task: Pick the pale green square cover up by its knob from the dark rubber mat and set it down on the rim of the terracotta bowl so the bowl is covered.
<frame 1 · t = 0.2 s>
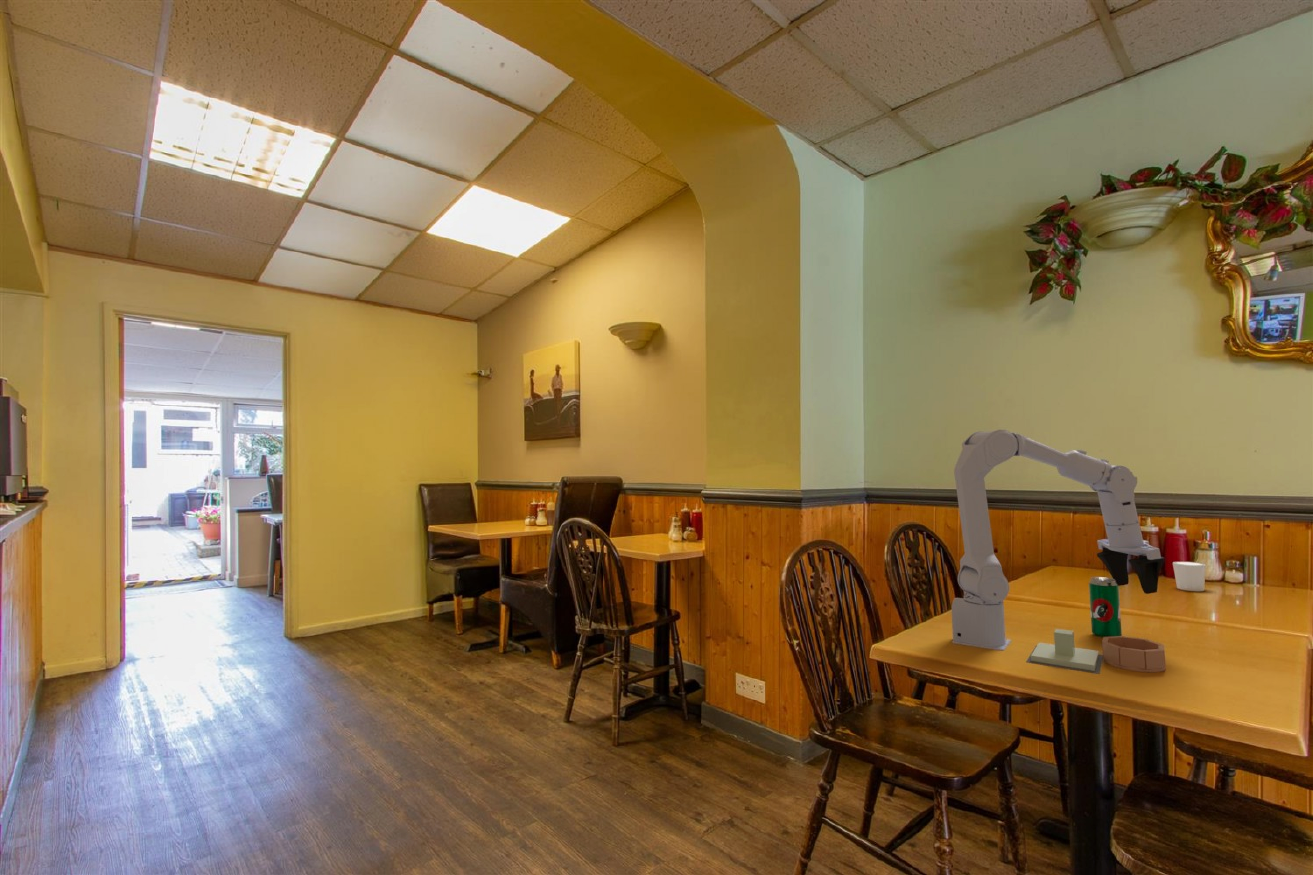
hand: (1136, 588, 124), 11 cm above the table, tool pointing down, fingers open, 7 cm apart
mat: (1065, 660, 113), on the table
soda can: (1106, 637, 127), on the table
bowl: (1134, 665, 110), on the table
white cup: (1190, 589, 166), on the table
cover: (1065, 658, 113), resting on mat
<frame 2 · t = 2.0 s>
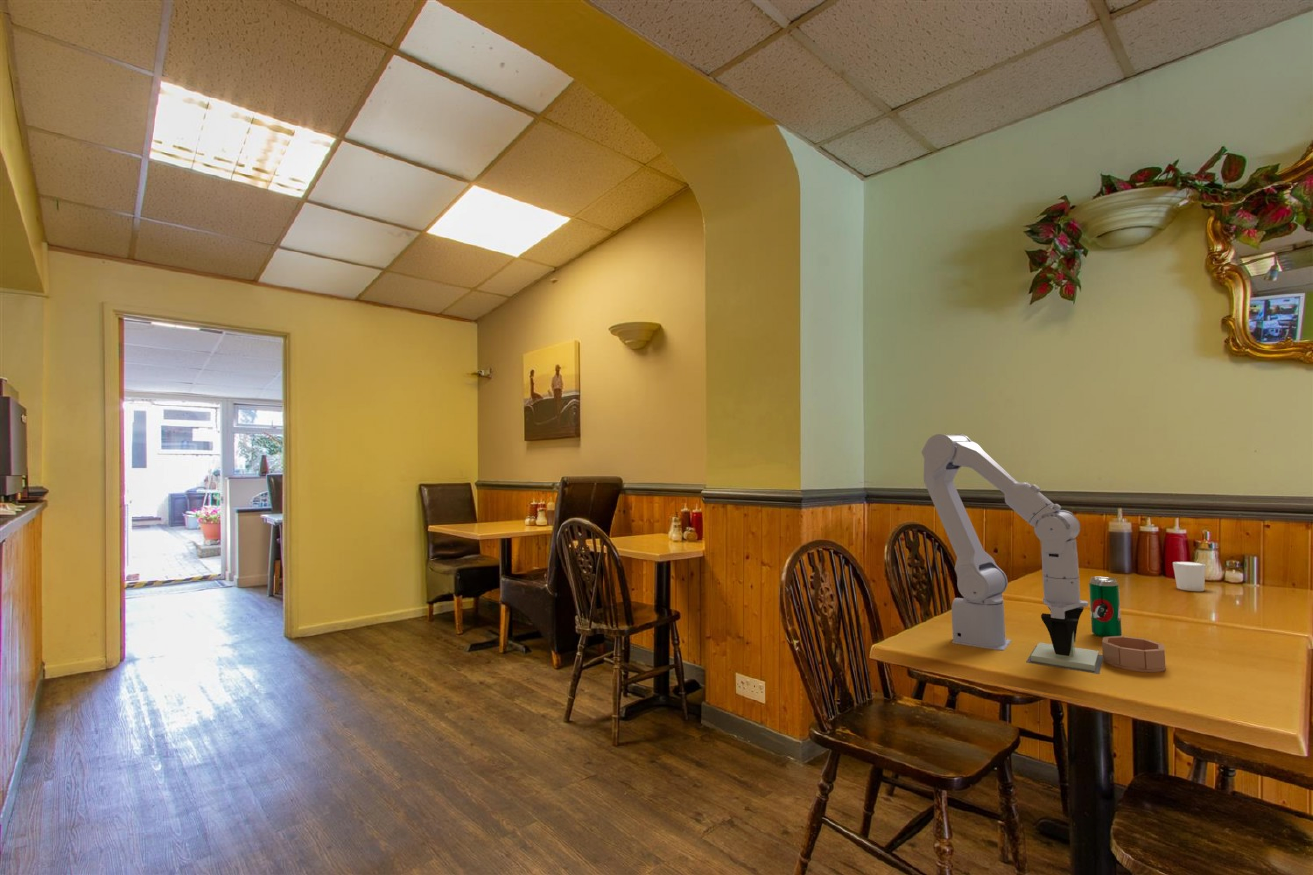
hand: (1065, 649, 113), 2 cm above the table, tool pointing down, fingers open, 7 cm apart
nothing on the table moved.
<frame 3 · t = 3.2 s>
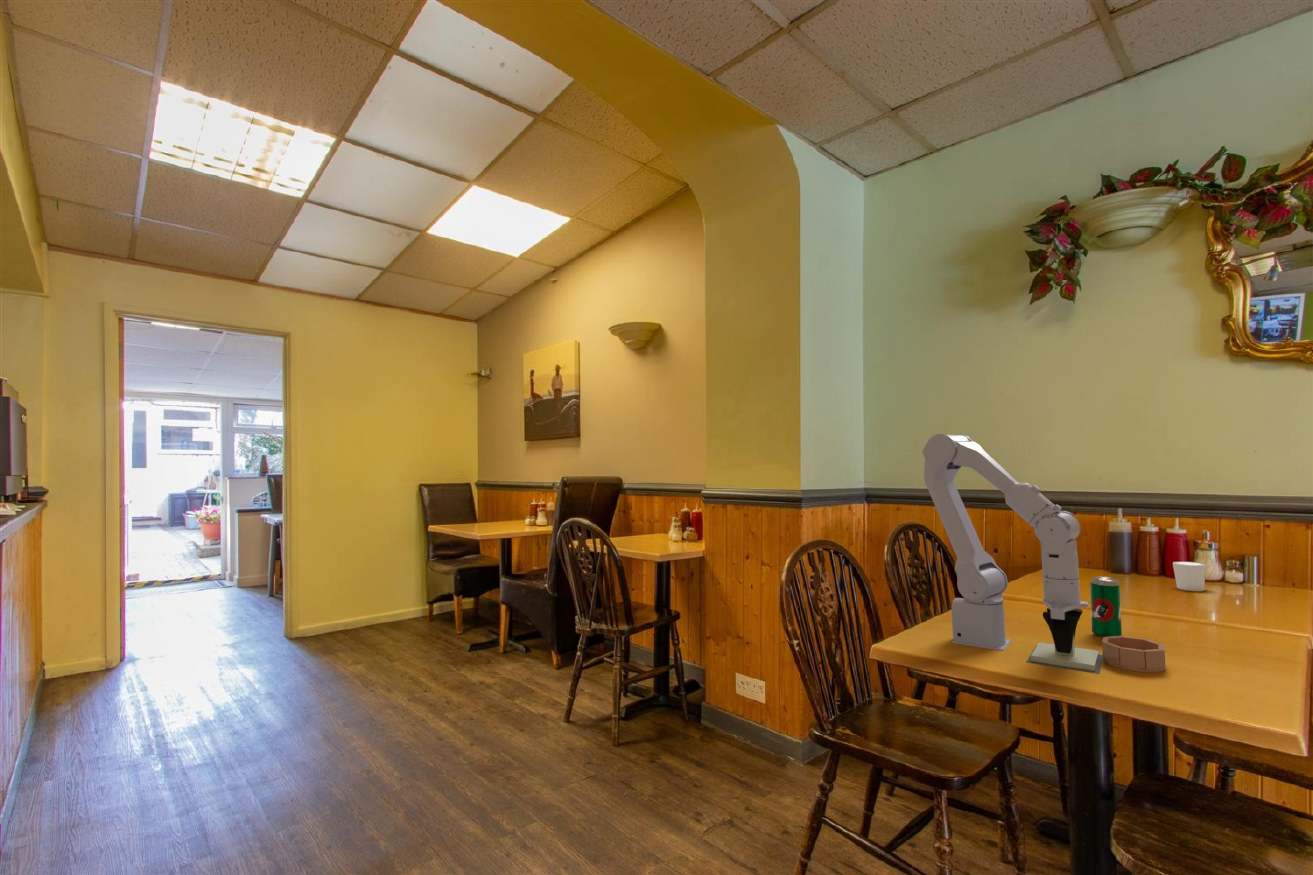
hand: (1064, 649, 113), 2 cm above the table, tool pointing down, fingers closed on cover, 3 cm apart
cover: (1065, 658, 113), resting on mat, touching gripper
everything else where it was.
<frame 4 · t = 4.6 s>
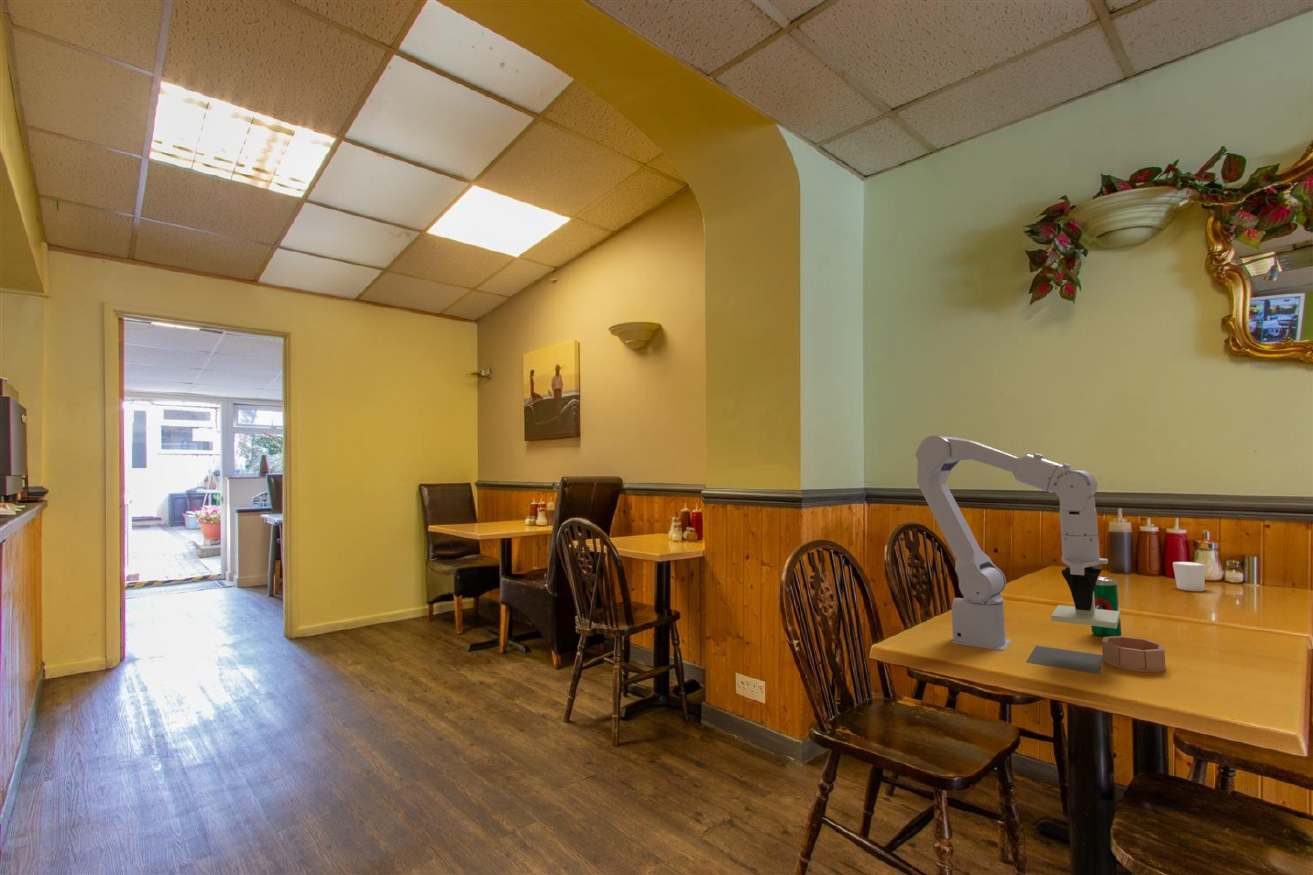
hand: (1084, 607, 112), 10 cm above the table, tool pointing down, fingers closed on cover, 3 cm apart
cover: (1085, 618, 112), point 8 cm above the table, touching gripper
everything else where it was.
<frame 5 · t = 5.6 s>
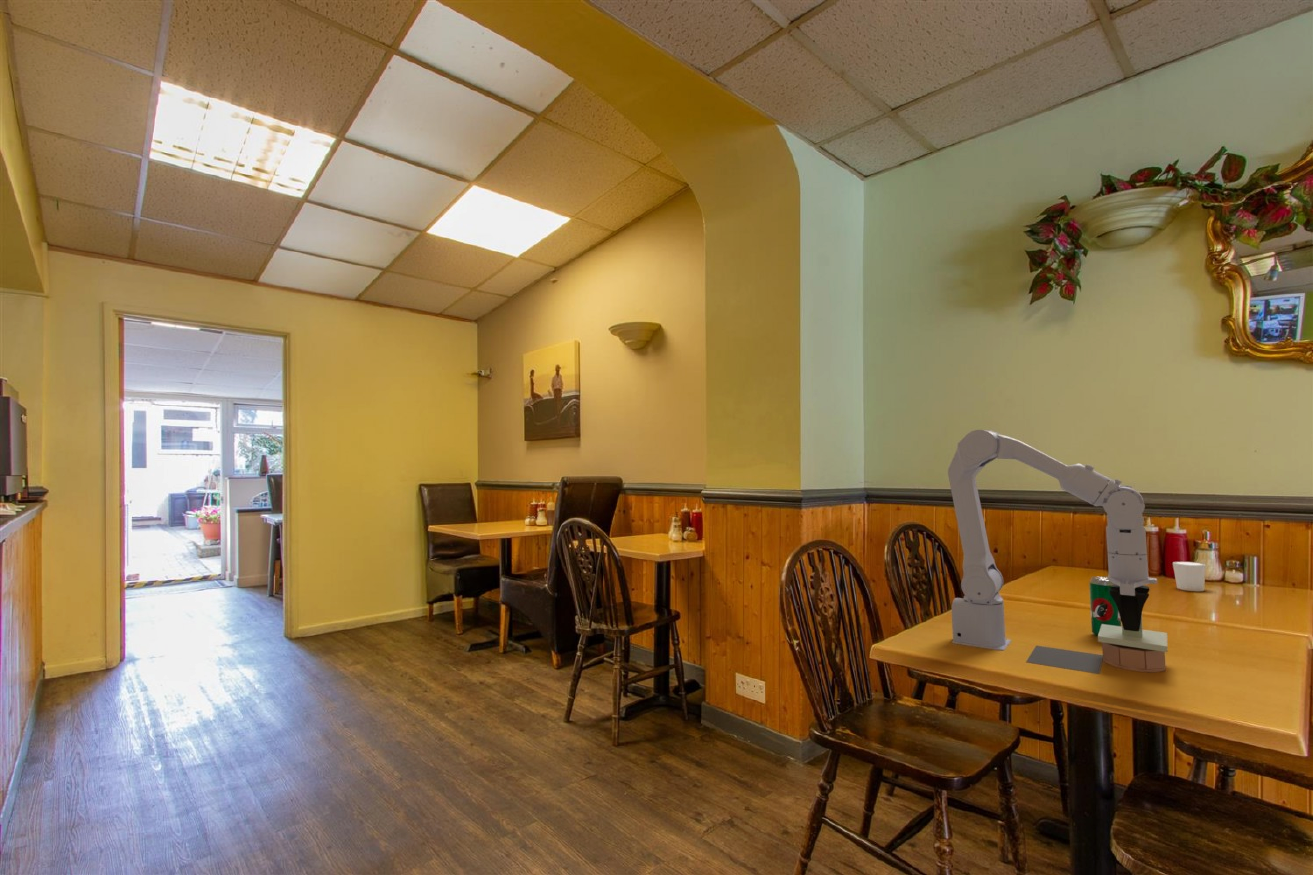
hand: (1131, 628, 110), 7 cm above the table, tool pointing down, fingers closed on cover, 3 cm apart
cover: (1132, 639, 110), point 5 cm above the table, touching gripper
everything else where it was.
when the fingers open (6 cm above the table, at t = 6.3 s): cover stays where it is, resting on bowl.
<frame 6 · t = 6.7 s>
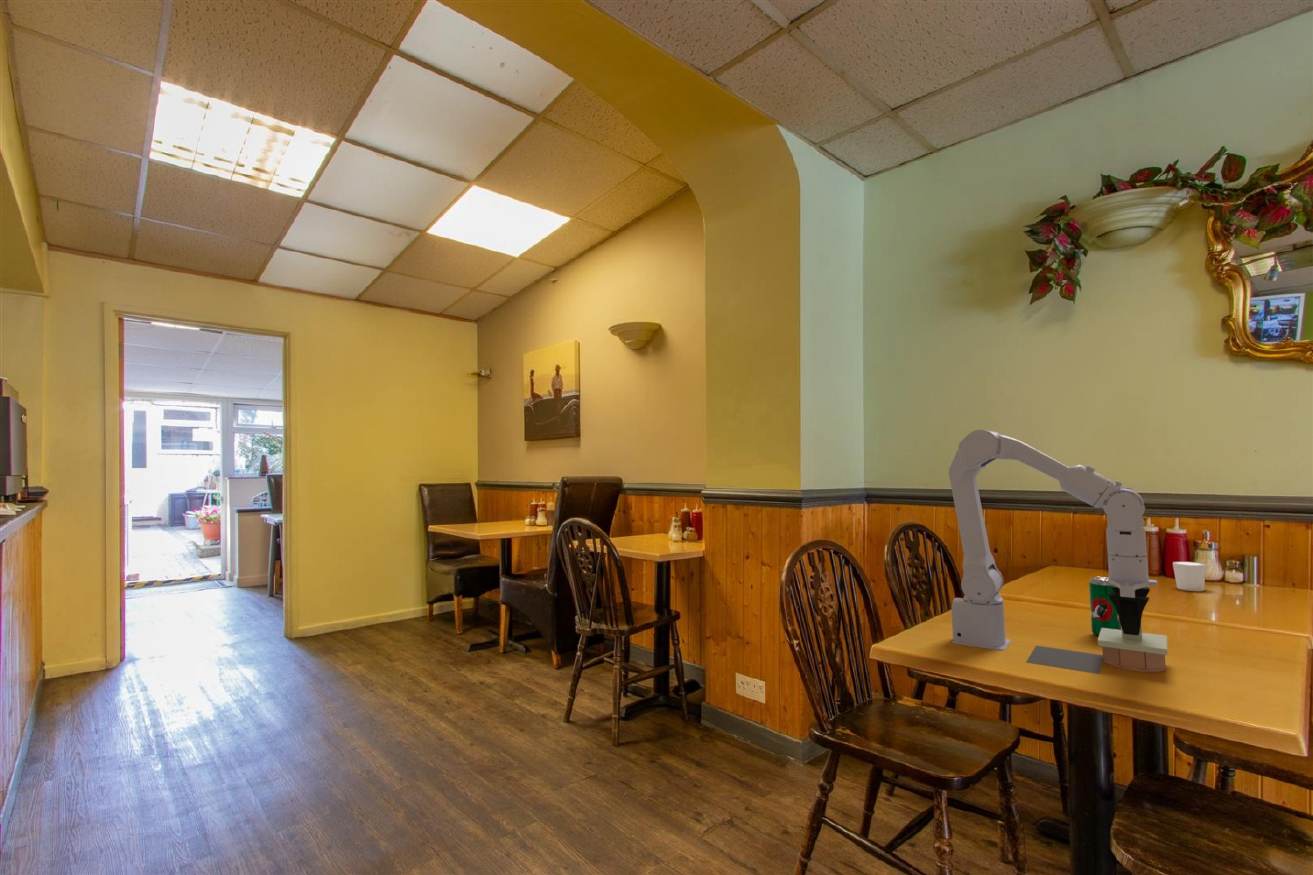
hand: (1131, 629, 110), 6 cm above the table, tool pointing down, fingers open, 6 cm apart
cover: (1132, 643, 110), point 4 cm above the table, touching bowl
everything else where it was.
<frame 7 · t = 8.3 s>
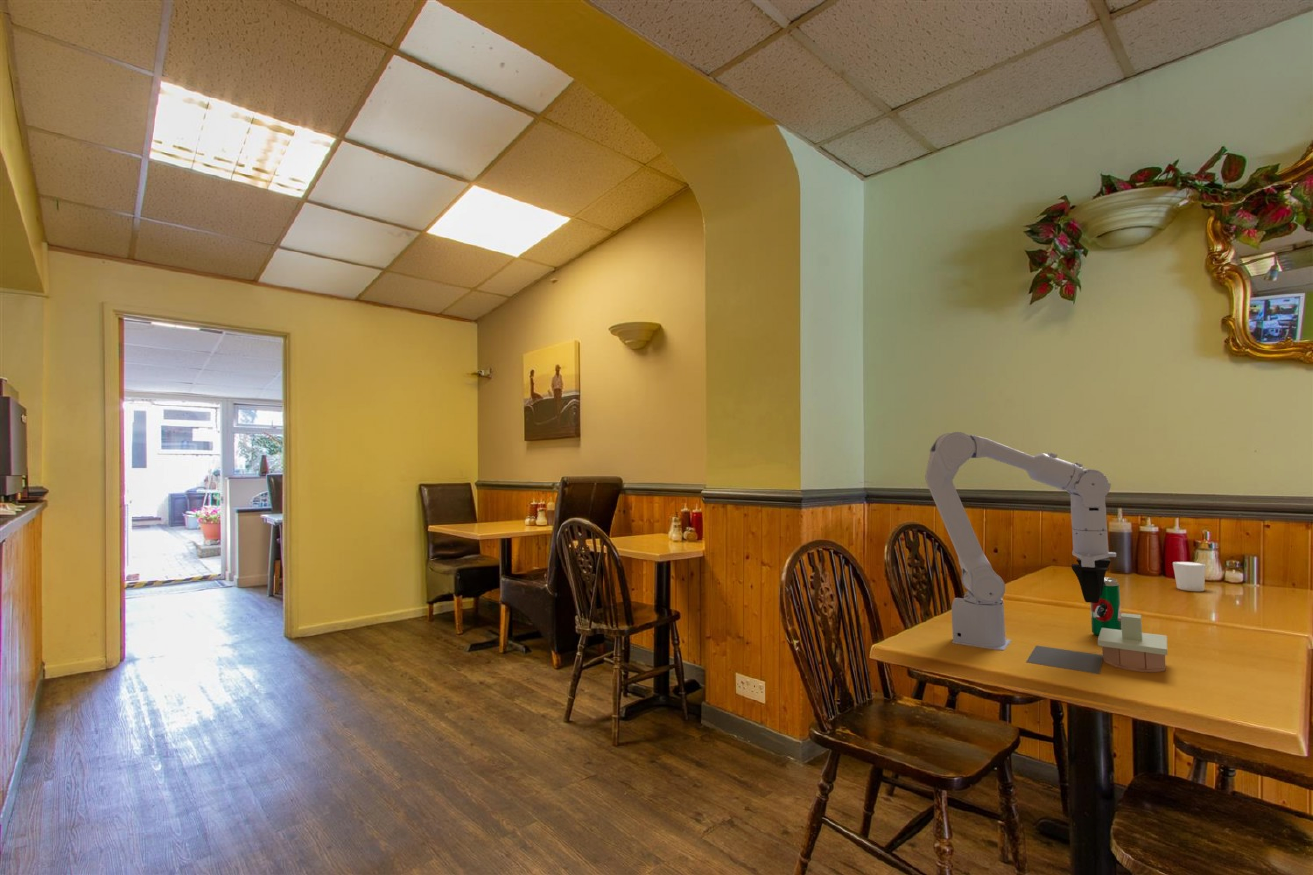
hand: (1093, 598, 120), 10 cm above the table, tool pointing down, fingers open, 7 cm apart
nothing on the table moved.
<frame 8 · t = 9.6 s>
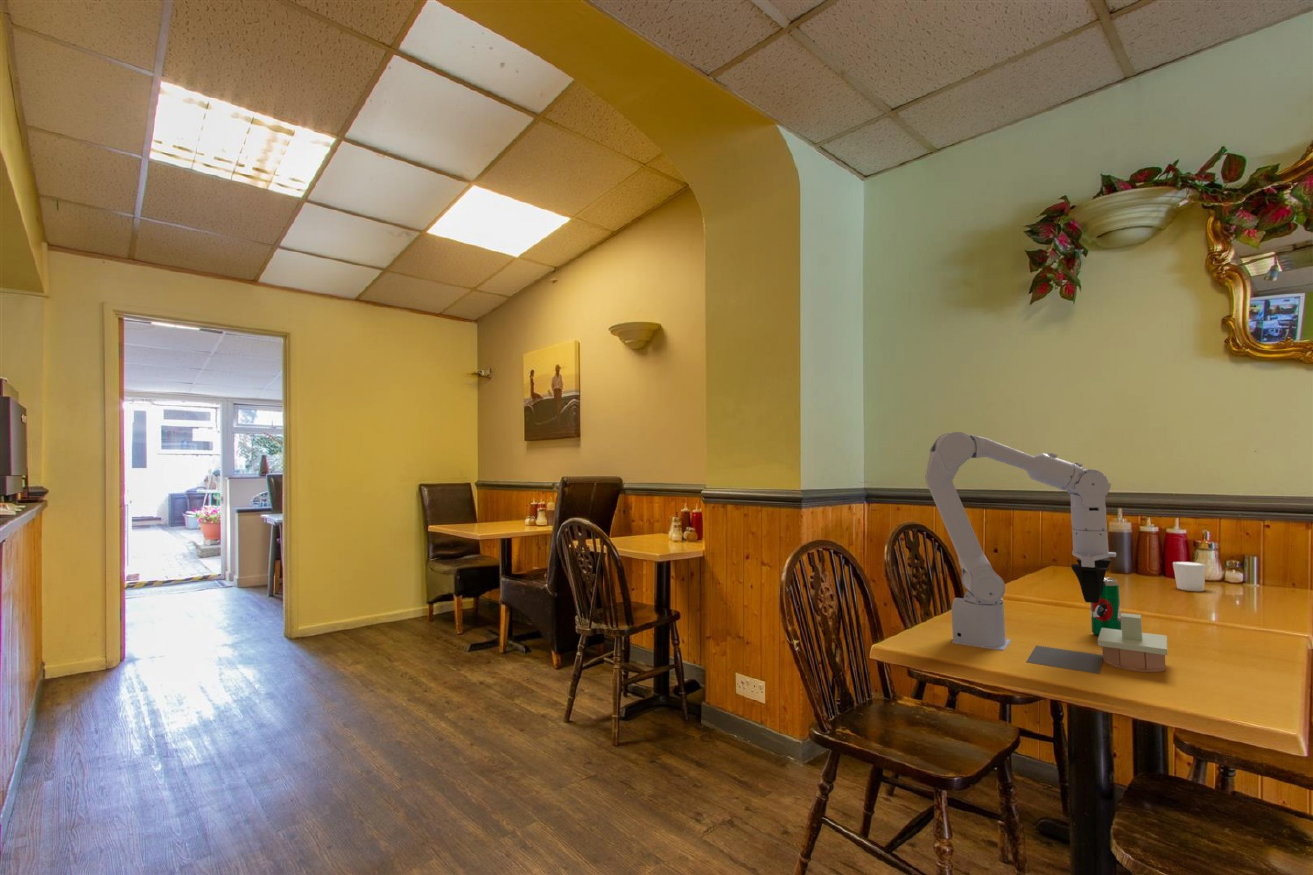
hand: (1093, 598, 120), 10 cm above the table, tool pointing down, fingers open, 7 cm apart
nothing on the table moved.
at the end: cover 0.0 cm off-centre on the bowl, point 4.0 cm above the bowl's base; cover tilted 0°; the gripper is holding nothing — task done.
